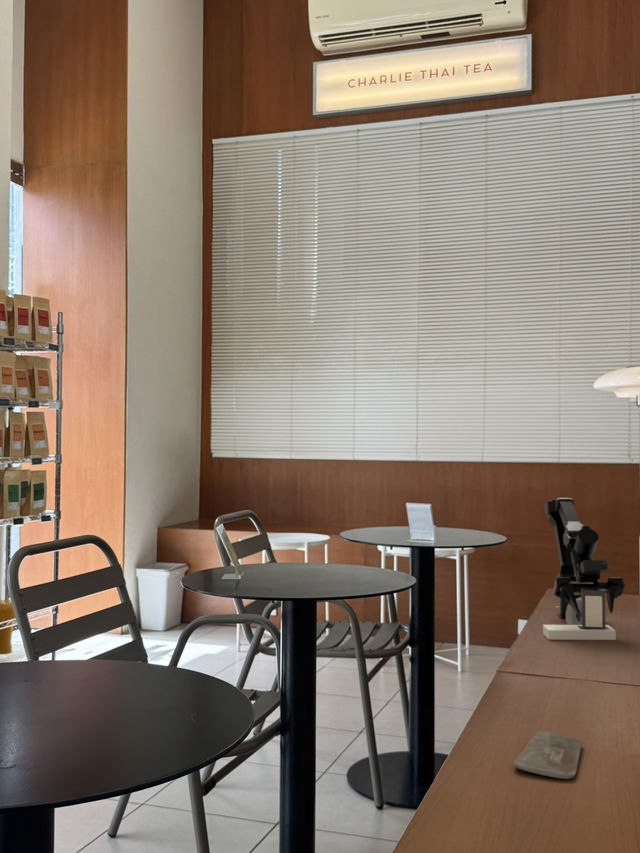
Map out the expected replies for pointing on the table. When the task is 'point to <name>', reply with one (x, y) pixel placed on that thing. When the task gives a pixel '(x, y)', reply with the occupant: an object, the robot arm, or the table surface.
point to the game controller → (574, 614)
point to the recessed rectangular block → (577, 633)
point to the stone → (550, 755)
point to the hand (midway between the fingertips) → (594, 612)
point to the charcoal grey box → (593, 608)
